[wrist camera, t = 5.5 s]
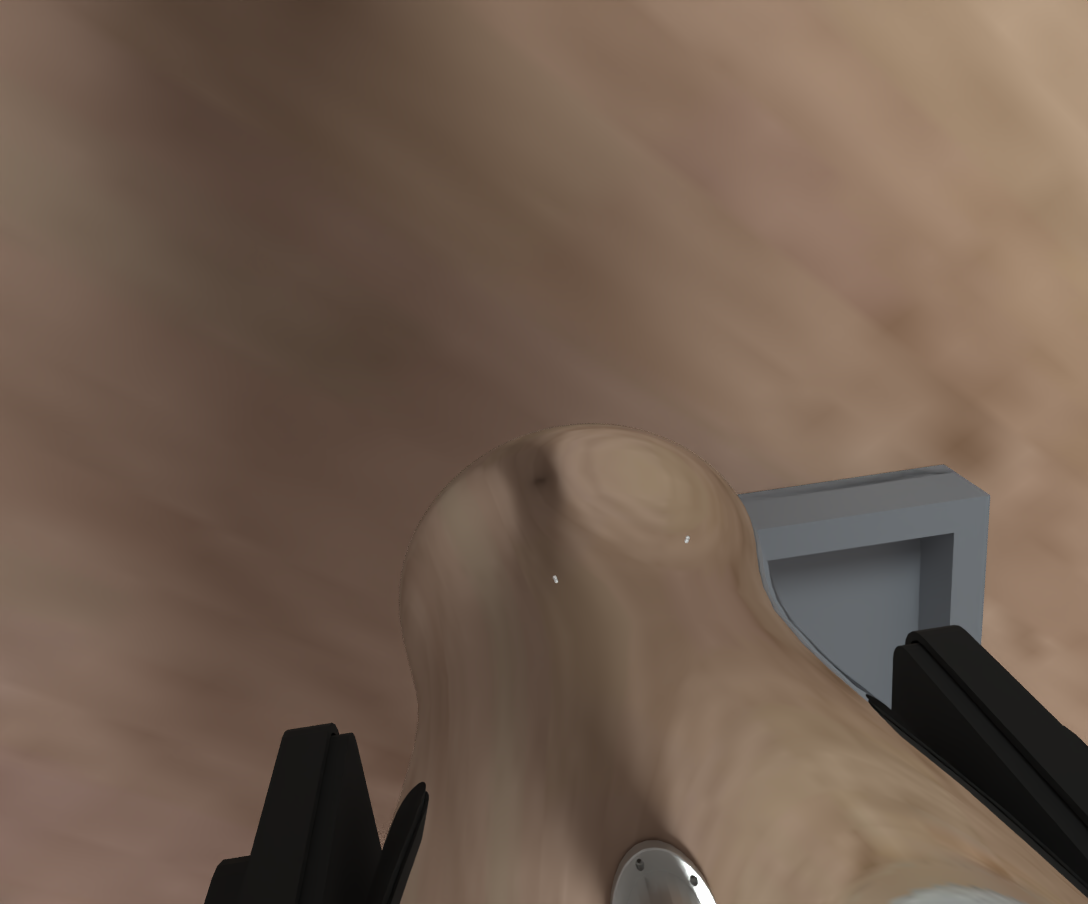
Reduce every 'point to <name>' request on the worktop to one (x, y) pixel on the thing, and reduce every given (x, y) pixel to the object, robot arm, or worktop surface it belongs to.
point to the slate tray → (876, 561)
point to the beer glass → (656, 711)
